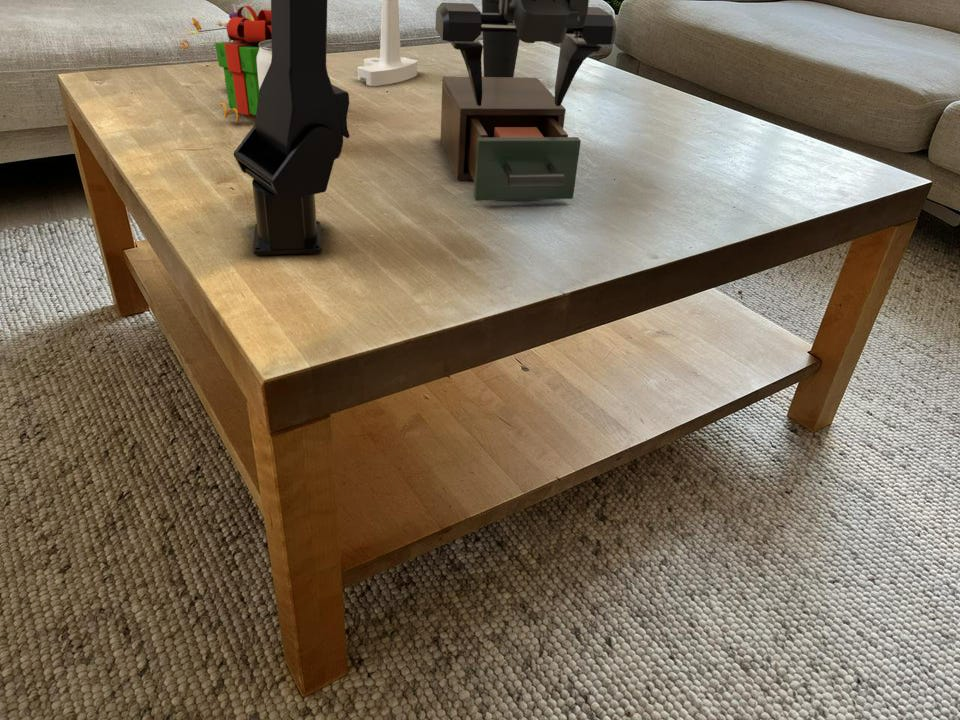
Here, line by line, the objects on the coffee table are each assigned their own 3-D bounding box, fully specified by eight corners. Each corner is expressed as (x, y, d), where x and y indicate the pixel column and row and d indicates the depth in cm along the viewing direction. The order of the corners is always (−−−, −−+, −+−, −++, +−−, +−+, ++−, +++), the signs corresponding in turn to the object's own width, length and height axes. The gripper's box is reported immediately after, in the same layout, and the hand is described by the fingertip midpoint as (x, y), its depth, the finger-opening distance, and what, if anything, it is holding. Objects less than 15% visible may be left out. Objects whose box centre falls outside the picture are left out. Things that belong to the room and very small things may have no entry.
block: (532, 168, 91) (542, 184, 87) (491, 168, 90) (500, 185, 86) (536, 126, 89) (547, 141, 85) (494, 126, 88) (504, 141, 84)
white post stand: (376, 87, 122) (374, -53, 111) (343, 77, 126) (338, -60, 115) (422, 75, 130) (425, -57, 118) (390, 66, 133) (389, -64, 122)
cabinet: (557, 178, 95) (565, 109, 90) (457, 180, 92) (460, 108, 87) (530, 141, 105) (536, 77, 101) (440, 142, 103) (442, 76, 98)
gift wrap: (280, 103, 119) (271, 1, 112) (355, 121, 107) (349, 8, 101) (156, 118, 106) (137, 4, 99) (225, 140, 94) (209, 13, 88)
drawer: (584, 214, 84) (593, 154, 80) (482, 216, 82) (486, 154, 78) (544, 159, 97) (550, 105, 93) (456, 160, 95) (459, 105, 91)
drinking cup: (469, 85, 127) (476, -51, 116) (482, 74, 133) (490, -56, 122) (514, 91, 125) (525, -45, 114) (525, 80, 131) (537, -51, 120)
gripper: (454, -42, 69) (448, 128, 78) (646, -34, 73) (620, 128, 82) (436, -58, 78) (432, 96, 87) (608, -50, 82) (588, 97, 91)
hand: (518, 105), depth 87 cm, fingers open, 9 cm apart
